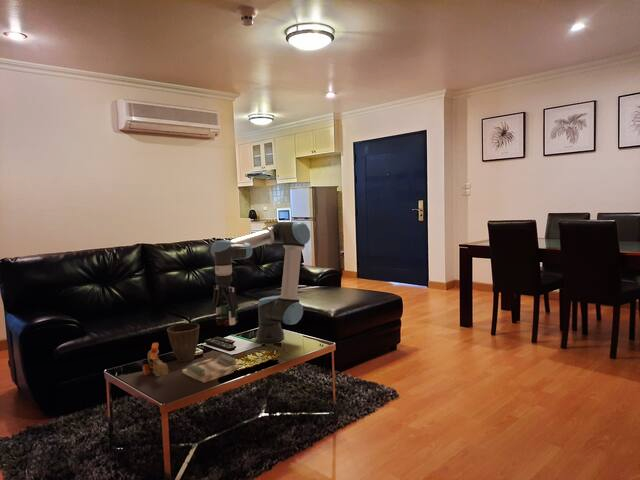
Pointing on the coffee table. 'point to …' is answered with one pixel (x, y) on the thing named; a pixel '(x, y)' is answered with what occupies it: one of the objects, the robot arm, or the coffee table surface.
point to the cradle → (211, 368)
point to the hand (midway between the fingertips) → (225, 322)
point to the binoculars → (224, 314)
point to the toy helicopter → (155, 363)
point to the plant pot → (184, 340)
